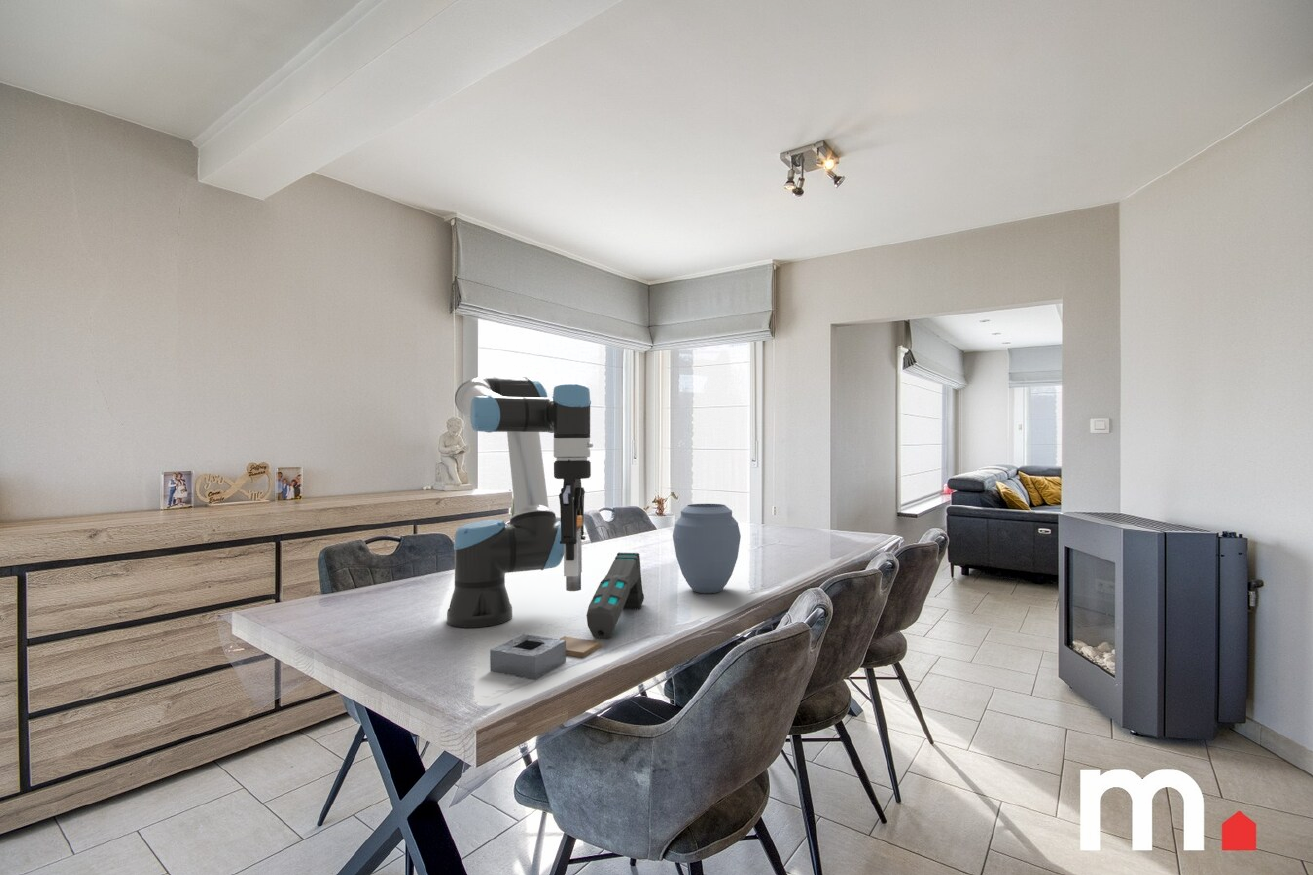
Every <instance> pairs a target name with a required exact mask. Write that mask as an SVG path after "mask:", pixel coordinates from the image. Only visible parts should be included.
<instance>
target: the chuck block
mask: <svg viewBox="0 0 1313 875" xmlns="http://www.w3.org/2000/svg"><path fill="white" fill-rule="evenodd" d="M489 651H490V652H489V654H490V661H489V662H490V666H489V668H490V669H489V670H490V672H491V673H496V674H501V675H502V674H503V675H507V676H513V677H517V678H523V679H528V680H534V681H536V680H538V679H539V678H541V677H543V676H544V675H546V674H547V673H549V672H550V671H553V670H554V669H555V668H557V667H559V666H561V665H562V664H564V663H566V662H567V655H566V640H560V638H559V639H558V638H552V637H545V636H537V635H532V634H525V633H523V634H521V635H519V636H517V637H515V638H512V639H510V640H508V641H507V642H504V643H501V644H500V645H497V646H495V647H493V648H491V649H490V650H489Z"/></svg>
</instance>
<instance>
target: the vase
mask: <svg viewBox="0 0 1313 875" xmlns="http://www.w3.org/2000/svg"><path fill="white" fill-rule="evenodd" d="M741 536H742V535H741V531H740V526H739V523H738V521H737V520H736V519H735V517H734V516H733V510H732V509H731V508H729V507H728V506H726V504H721V503H693V504H688V505H686V506H684V508H682V509H681V510H680V517H679V518H678V519H677V520H676V521H675V523H674V528H673V534H672V540H673V546H674V554H675V557H676V560H677V564H678V566H679V569H680V571H681V574H682V576H683V578H684V579H685V582H686V583H687V585H688V586H689V587H690V588H691V590H692V591H695V592H696V593H698V594H710V595H711V594H717V593H719V592H721V591H723V589H725V588H726V585H727V584H728V583H729V580H730V579H731V577H732V575H733V573H734V571H735V567H736V565H737V561H738V558H739V551H740V545H741Z"/></svg>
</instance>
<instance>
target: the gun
mask: <svg viewBox="0 0 1313 875" xmlns="http://www.w3.org/2000/svg"><path fill="white" fill-rule="evenodd" d="M640 557H641V556H640V553H639V552H617V554H616V556H615V557H614V559H613V561H612V564H611V565H610V567H609V569H608V571H607V574H605V576H604V578H603V579H601V581H600V583H599V585H598V587H597V589H596V591H595V593H594V595H593V596H592V599H591V600H590V603H589V605H588V608H587V611H586V624H587V628H588V629H589V631H590V634H591V635H592V637H593V638H595V639H606V640H607V639H611V638H612V635H613V632H614V631H615V629H616V626H617V623H618V621H619V619H620V617H621V614H622V612H623V609H625V610H641V607H642V604H643V602H644V599H645V596H644V595H645V594H644V591H643V585H642V573H641V570H642V569H641V558H640Z"/></svg>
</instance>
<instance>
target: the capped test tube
mask: <svg viewBox="0 0 1313 875" xmlns="http://www.w3.org/2000/svg"><path fill="white" fill-rule="evenodd" d="M581 526H582V515H577V542H576V543H578V576H565V589H566V591H567V592H578V591H582V572H581V541H582V540H581Z"/></svg>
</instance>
